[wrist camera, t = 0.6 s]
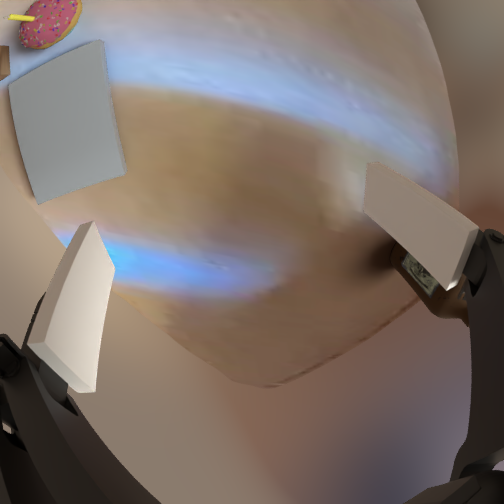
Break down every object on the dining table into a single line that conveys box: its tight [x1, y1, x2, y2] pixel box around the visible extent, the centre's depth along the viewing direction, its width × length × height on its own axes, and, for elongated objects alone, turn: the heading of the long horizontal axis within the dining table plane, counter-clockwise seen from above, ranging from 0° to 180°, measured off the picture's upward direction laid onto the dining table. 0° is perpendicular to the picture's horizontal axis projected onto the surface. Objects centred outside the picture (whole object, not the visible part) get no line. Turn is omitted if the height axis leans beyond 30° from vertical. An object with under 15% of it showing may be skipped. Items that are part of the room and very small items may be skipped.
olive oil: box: [390, 242, 470, 328], centre depth 44 cm, size 11×11×25 cm
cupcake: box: [4, 0, 82, 49], centre depth 12 cm, size 9×8×12 cm
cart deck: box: [8, 39, 127, 205], centre depth 24 cm, size 18×14×3 cm
